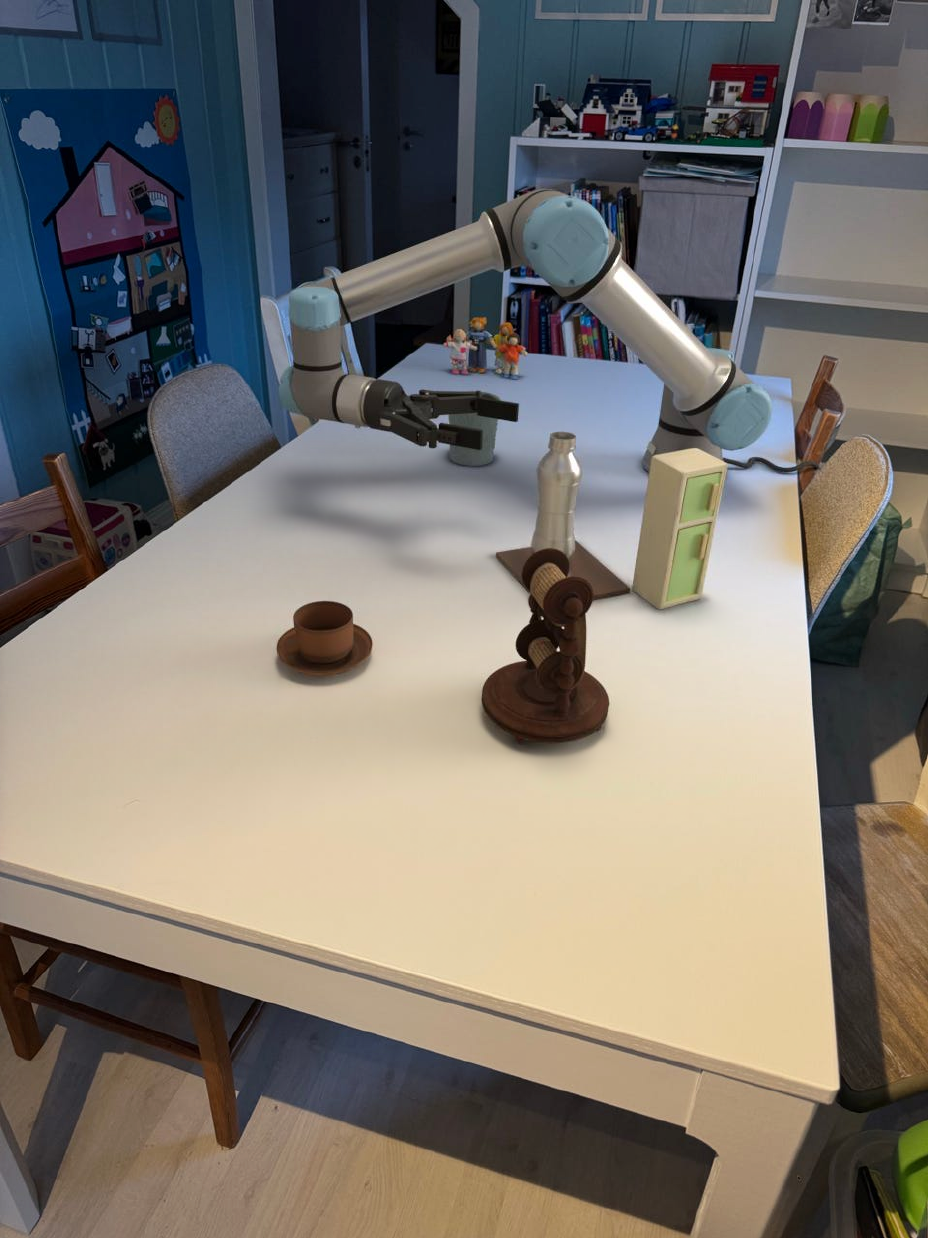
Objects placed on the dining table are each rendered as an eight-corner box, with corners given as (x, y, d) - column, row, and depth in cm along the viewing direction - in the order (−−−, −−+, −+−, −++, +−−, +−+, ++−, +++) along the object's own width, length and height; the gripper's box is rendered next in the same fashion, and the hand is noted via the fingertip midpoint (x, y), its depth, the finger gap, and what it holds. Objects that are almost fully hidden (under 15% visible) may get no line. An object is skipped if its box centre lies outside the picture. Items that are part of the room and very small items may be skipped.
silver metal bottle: (571, 573, 132) (585, 445, 122) (526, 567, 133) (536, 440, 123) (575, 554, 138) (589, 430, 127) (532, 549, 139) (542, 426, 128)
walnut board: (574, 544, 143) (575, 539, 142) (630, 593, 129) (630, 588, 129) (495, 556, 138) (495, 552, 137) (544, 609, 124) (545, 604, 124)
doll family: (442, 373, 224) (443, 319, 217) (448, 363, 232) (450, 311, 225) (525, 380, 221) (528, 326, 214) (529, 369, 229) (532, 317, 222)
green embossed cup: (438, 461, 172) (439, 401, 165) (458, 445, 180) (459, 387, 173) (486, 470, 168) (490, 409, 162) (504, 453, 176) (508, 394, 170)
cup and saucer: (332, 695, 105) (329, 652, 102) (257, 663, 111) (252, 621, 107) (391, 650, 114) (391, 609, 111) (319, 622, 119) (317, 582, 116)
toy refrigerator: (661, 613, 125) (685, 473, 114) (630, 590, 130) (650, 454, 119) (705, 601, 128) (732, 464, 117) (672, 579, 133) (696, 446, 122)
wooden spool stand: (627, 741, 100) (653, 587, 89) (504, 763, 96) (516, 604, 86) (577, 669, 112) (594, 526, 101) (465, 686, 108) (471, 538, 98)
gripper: (410, 405, 148) (529, 425, 140) (331, 452, 128) (463, 479, 121) (410, 360, 144) (532, 378, 136) (328, 401, 124) (465, 425, 117)
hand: (500, 425), depth 129 cm, fingers open, 13 cm apart
